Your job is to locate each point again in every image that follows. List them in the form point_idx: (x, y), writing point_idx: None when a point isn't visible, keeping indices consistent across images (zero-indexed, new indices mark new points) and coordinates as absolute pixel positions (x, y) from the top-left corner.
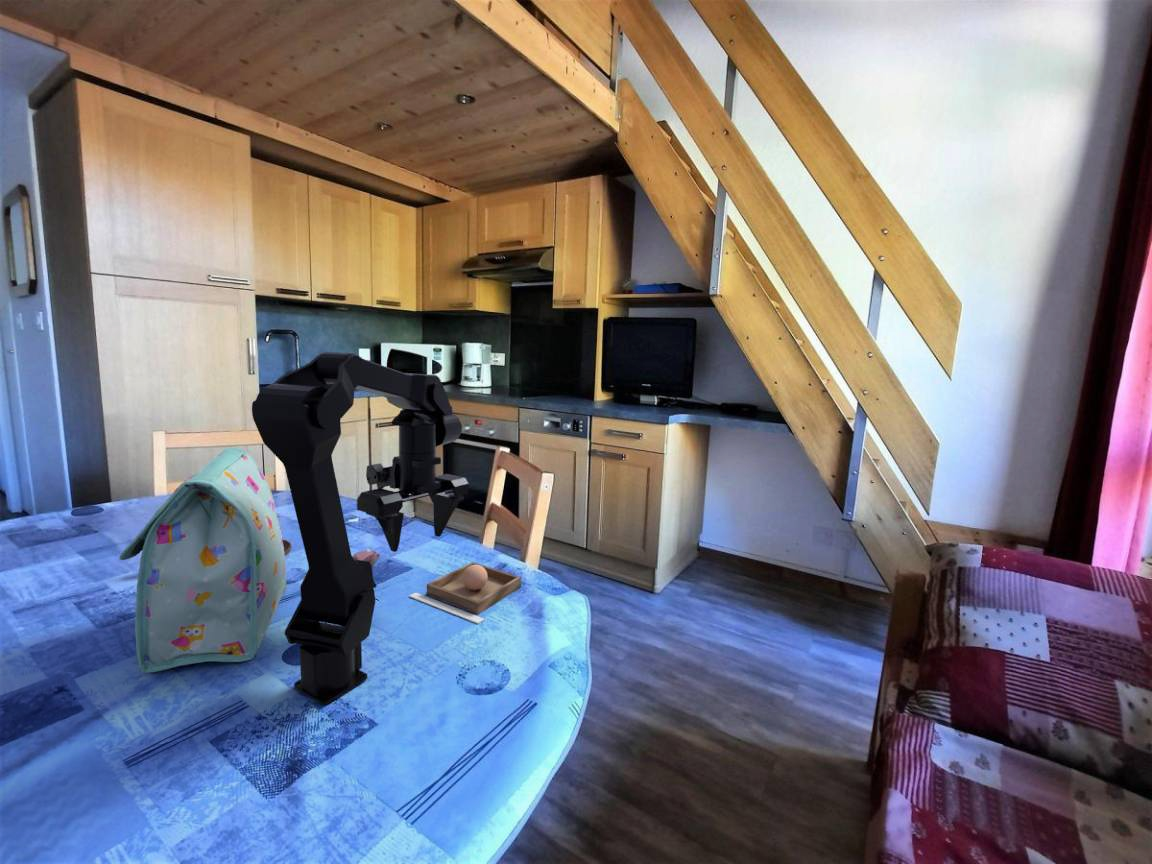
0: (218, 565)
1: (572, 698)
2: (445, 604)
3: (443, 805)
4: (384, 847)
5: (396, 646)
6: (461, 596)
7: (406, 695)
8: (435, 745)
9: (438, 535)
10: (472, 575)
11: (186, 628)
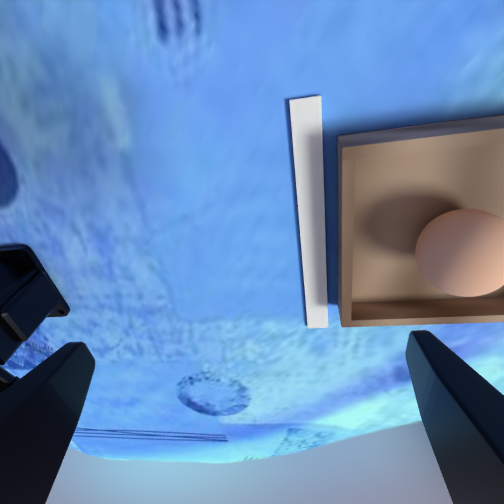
0: None
1: (259, 455)
2: (323, 230)
3: (94, 440)
4: None
5: (142, 275)
6: (345, 282)
7: (111, 360)
8: (112, 413)
9: (407, 359)
10: (435, 282)
11: None
